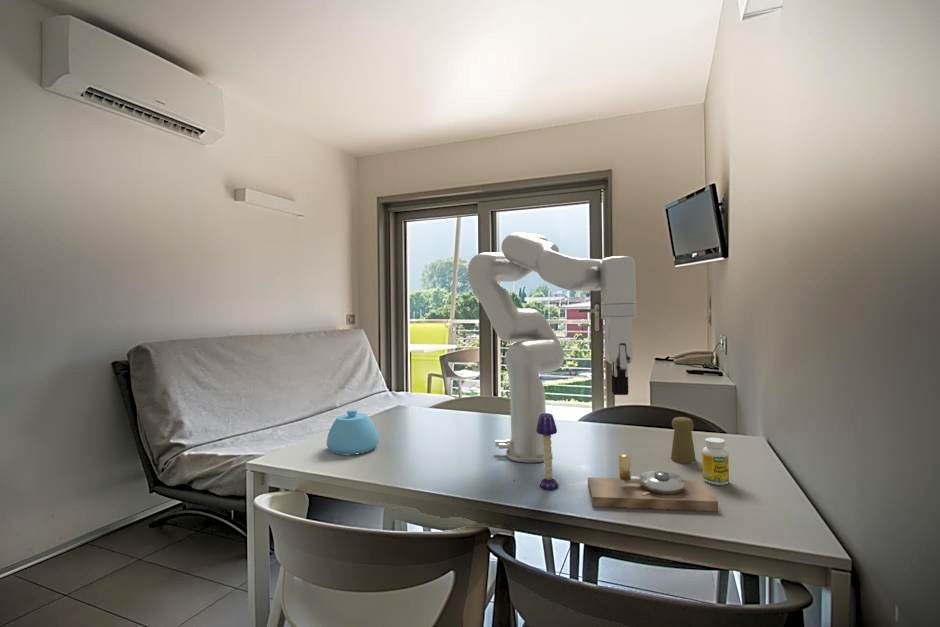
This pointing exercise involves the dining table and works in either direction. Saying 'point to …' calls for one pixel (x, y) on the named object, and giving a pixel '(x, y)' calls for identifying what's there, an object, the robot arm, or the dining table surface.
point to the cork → (683, 440)
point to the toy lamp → (547, 449)
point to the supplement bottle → (715, 462)
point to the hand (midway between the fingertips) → (620, 393)
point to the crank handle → (651, 478)
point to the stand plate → (649, 496)
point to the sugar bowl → (352, 434)
